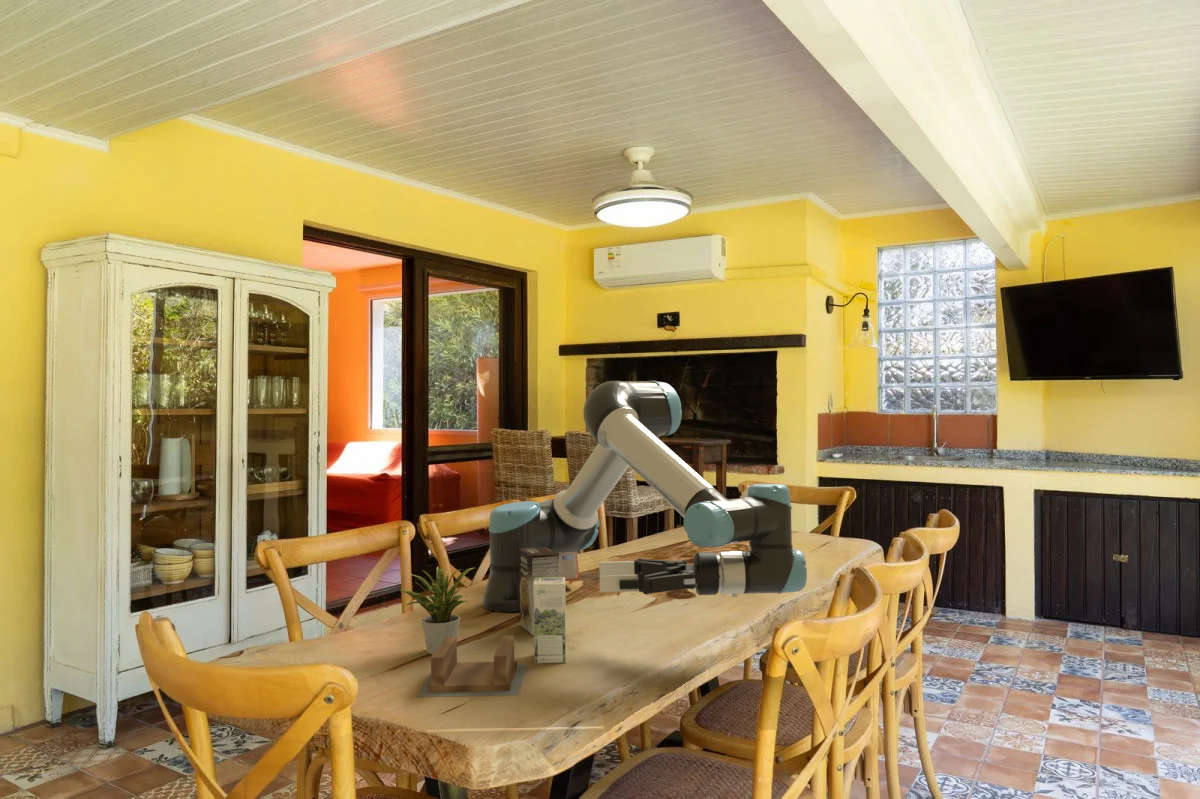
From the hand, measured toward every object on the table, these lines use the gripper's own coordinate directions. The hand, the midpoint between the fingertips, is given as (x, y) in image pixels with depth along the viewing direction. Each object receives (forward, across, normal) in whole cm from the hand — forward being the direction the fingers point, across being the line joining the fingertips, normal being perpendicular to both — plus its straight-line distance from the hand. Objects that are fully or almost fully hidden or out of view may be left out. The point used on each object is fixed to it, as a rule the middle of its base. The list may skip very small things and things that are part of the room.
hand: (599, 576), depth 146 cm
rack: (+21, -10, -15) cm, 28 cm away
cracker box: (+10, +64, -13) cm, 66 cm away
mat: (+21, -10, -15) cm, 28 cm away
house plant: (+30, +8, -15) cm, 34 cm away
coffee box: (+13, +22, -15) cm, 30 cm away
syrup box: (+9, 0, -15) cm, 18 cm away
